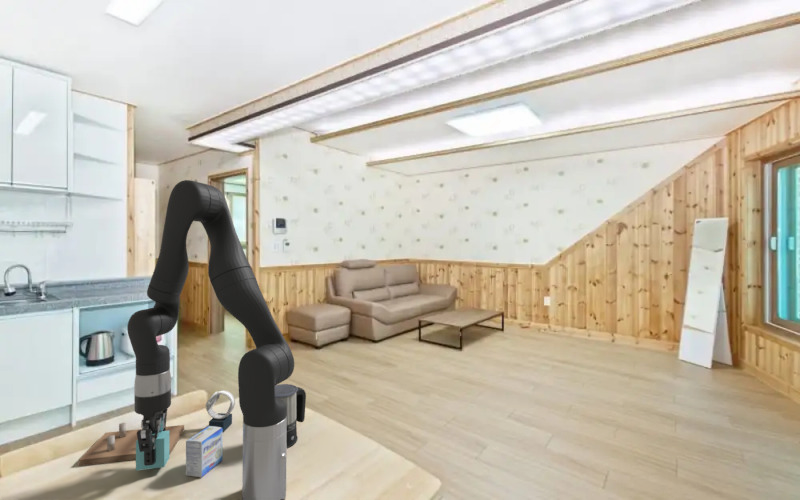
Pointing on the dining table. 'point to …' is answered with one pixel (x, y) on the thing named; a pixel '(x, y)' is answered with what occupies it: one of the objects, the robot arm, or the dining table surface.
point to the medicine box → (204, 451)
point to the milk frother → (292, 408)
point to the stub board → (122, 445)
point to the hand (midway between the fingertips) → (153, 458)
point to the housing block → (161, 452)
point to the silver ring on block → (221, 418)
